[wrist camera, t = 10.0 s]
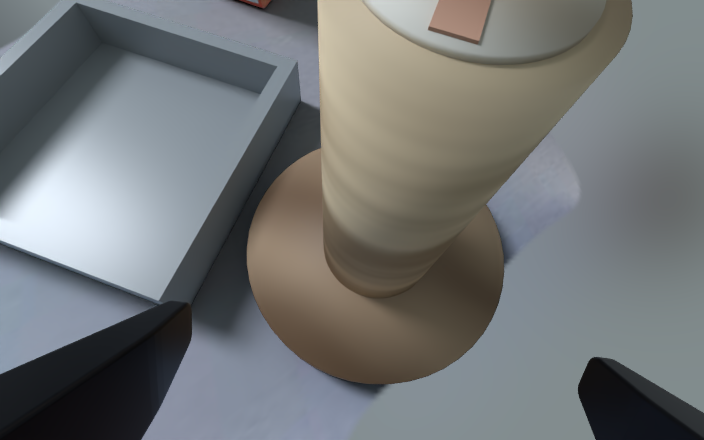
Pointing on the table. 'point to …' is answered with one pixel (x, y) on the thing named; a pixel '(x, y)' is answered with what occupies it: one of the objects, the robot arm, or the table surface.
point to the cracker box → (258, 2)
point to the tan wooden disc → (360, 311)
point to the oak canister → (439, 117)
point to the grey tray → (134, 143)
